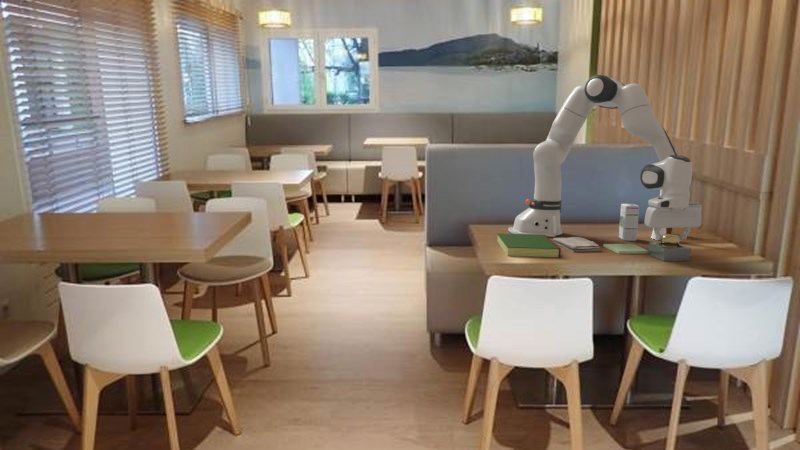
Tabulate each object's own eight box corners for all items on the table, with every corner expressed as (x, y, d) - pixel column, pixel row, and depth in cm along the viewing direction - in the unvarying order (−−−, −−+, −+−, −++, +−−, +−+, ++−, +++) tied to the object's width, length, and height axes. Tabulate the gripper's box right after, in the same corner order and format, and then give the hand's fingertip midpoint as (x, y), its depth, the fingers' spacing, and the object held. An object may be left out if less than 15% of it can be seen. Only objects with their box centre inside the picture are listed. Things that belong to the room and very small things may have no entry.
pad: (618, 253, 218) (618, 251, 217) (603, 246, 229) (603, 243, 229) (648, 253, 219) (649, 250, 219) (632, 246, 231) (632, 243, 231)
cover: (665, 259, 211) (667, 237, 209) (655, 255, 217) (658, 234, 215) (680, 259, 212) (683, 237, 210) (671, 255, 217) (673, 234, 216)
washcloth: (573, 253, 218) (574, 245, 217) (550, 243, 235) (551, 235, 234) (602, 252, 221) (603, 244, 220) (577, 242, 238) (578, 235, 237)
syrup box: (636, 241, 242) (640, 205, 239) (622, 240, 241) (625, 205, 239) (631, 238, 247) (634, 203, 244) (617, 237, 247) (620, 203, 244)
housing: (663, 260, 208) (664, 248, 208) (647, 254, 218) (649, 242, 217) (689, 260, 210) (691, 248, 209) (673, 254, 220) (674, 242, 219)
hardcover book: (559, 258, 209) (560, 248, 209) (506, 257, 210) (507, 247, 209) (543, 243, 234) (544, 234, 233) (496, 242, 234) (496, 233, 234)
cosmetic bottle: (654, 240, 243) (660, 187, 239) (648, 237, 249) (653, 185, 245) (669, 241, 243) (675, 187, 239) (662, 237, 249) (668, 185, 245)
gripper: (696, 200, 215) (692, 237, 217) (644, 200, 212) (640, 238, 214) (707, 202, 209) (703, 241, 211) (653, 202, 206) (649, 241, 208)
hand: (671, 239), depth 213 cm, fingers open, 8 cm apart
